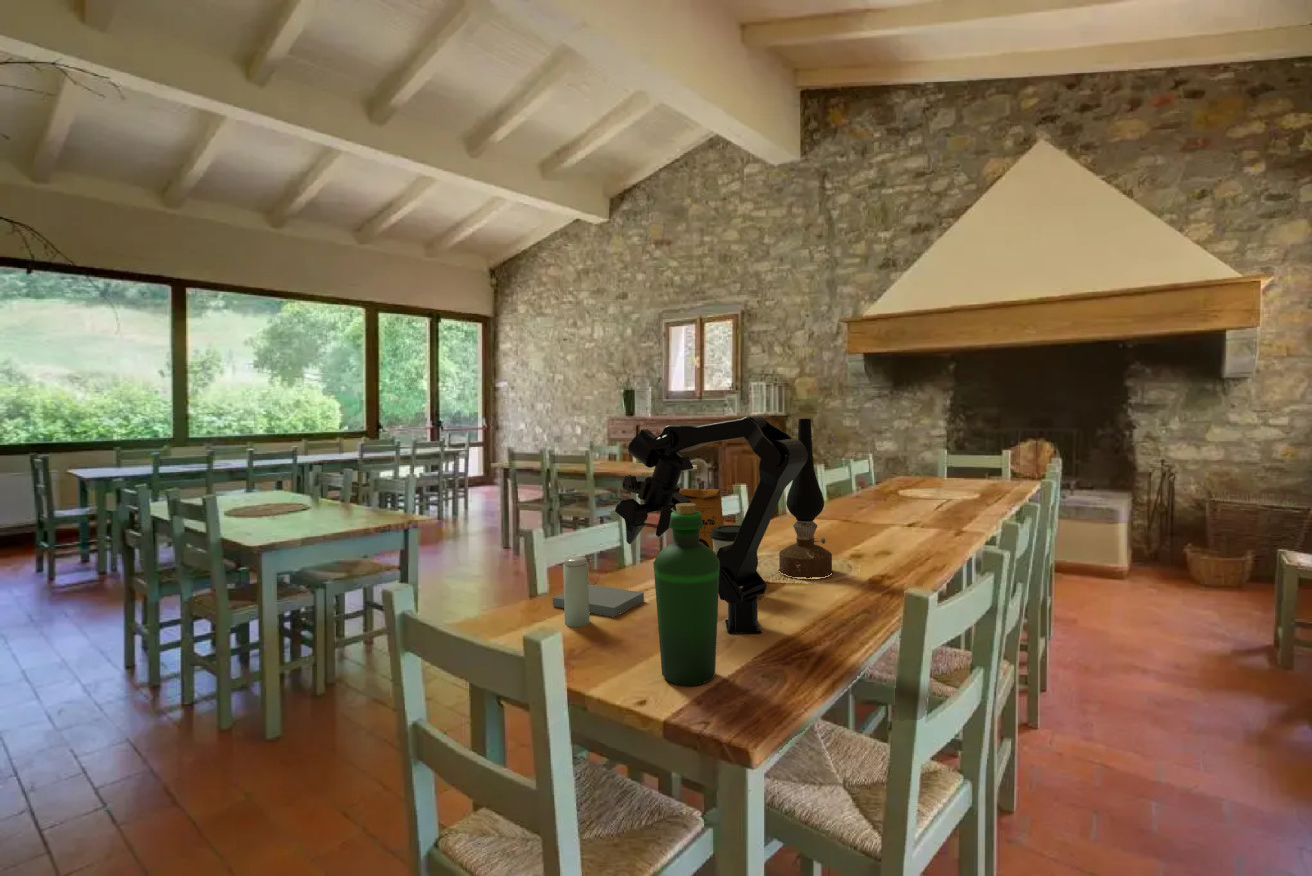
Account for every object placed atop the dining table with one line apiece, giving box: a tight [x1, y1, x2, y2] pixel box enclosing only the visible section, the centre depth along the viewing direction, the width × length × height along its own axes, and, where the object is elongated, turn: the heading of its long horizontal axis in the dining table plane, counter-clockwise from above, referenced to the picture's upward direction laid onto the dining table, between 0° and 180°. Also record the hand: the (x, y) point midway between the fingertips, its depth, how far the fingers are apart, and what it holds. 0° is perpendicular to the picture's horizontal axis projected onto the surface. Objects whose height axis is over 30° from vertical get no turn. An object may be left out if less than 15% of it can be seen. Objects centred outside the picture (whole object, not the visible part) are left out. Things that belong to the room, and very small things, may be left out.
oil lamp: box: [777, 418, 834, 578], centre depth 163 cm, size 14×15×40 cm
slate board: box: [552, 583, 645, 618], centre depth 144 cm, size 16×12×2 cm
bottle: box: [653, 503, 720, 687], centre depth 105 cm, size 11×11×28 cm
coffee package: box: [679, 487, 725, 550], centre depth 167 cm, size 10×12×22 cm
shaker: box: [562, 556, 591, 628], centre depth 132 cm, size 5×5×13 cm
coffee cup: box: [710, 524, 743, 588], centre depth 150 cm, size 10×10×15 cm
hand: (643, 539), depth 145 cm, fingers open, 9 cm apart
